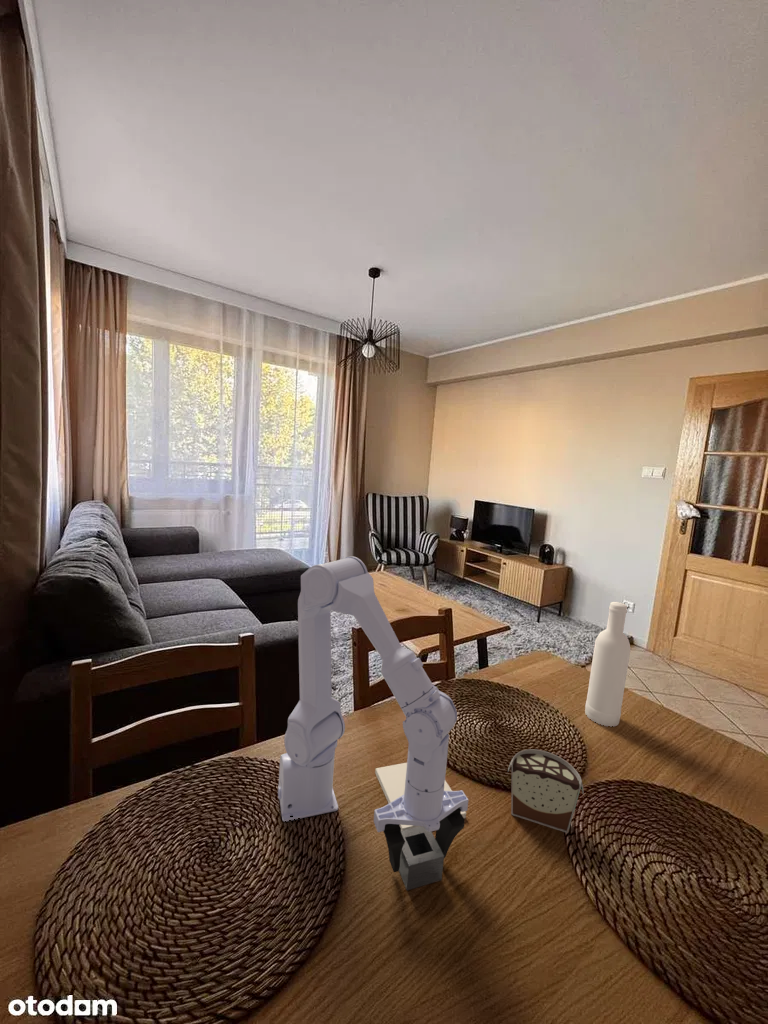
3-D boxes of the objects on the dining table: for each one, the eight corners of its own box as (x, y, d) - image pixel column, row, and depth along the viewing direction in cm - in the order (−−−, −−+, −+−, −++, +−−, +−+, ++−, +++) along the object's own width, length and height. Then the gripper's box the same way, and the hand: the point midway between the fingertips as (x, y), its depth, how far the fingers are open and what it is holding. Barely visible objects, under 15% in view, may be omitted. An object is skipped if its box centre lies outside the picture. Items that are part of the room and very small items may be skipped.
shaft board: (401, 833, 70) (404, 803, 69) (375, 773, 83) (377, 747, 82) (465, 818, 74) (468, 789, 74) (430, 762, 87) (433, 737, 87)
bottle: (587, 704, 113) (603, 596, 110) (621, 716, 109) (638, 604, 105) (581, 718, 107) (598, 603, 103) (616, 731, 102) (635, 612, 99)
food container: (574, 809, 78) (581, 759, 77) (577, 836, 72) (585, 782, 71) (504, 787, 82) (510, 739, 81) (502, 811, 76) (509, 760, 75)
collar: (406, 890, 61) (408, 865, 60) (392, 855, 66) (394, 832, 66) (441, 880, 63) (444, 856, 62) (425, 846, 68) (427, 824, 68)
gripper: (388, 809, 56) (380, 898, 58) (482, 788, 61) (473, 871, 63) (372, 771, 63) (365, 852, 65) (458, 755, 68) (450, 831, 70)
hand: (417, 859), depth 64 cm, fingers open, 7 cm apart
